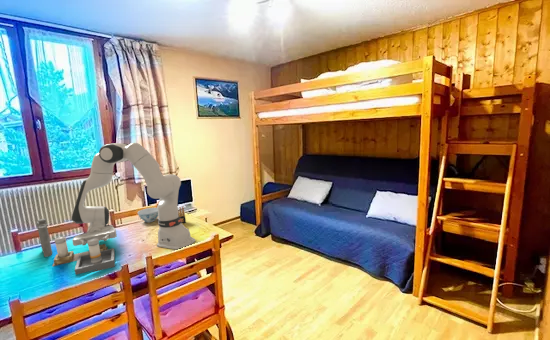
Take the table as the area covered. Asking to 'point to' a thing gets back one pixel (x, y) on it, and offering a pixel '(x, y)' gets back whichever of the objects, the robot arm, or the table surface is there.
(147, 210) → the chinaware
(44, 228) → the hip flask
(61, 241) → the cylinder
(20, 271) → the table surface
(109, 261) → the tray
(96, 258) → the cylinder
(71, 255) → the fuse block
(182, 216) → the ammunition clip
